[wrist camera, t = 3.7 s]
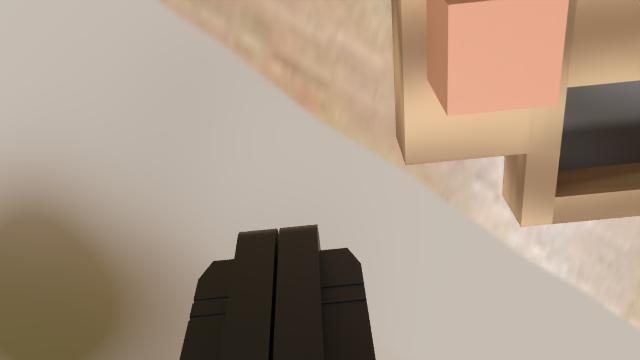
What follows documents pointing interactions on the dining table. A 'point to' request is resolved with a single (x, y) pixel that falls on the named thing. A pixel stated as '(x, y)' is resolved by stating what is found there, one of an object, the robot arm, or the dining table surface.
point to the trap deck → (540, 119)
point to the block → (495, 53)
